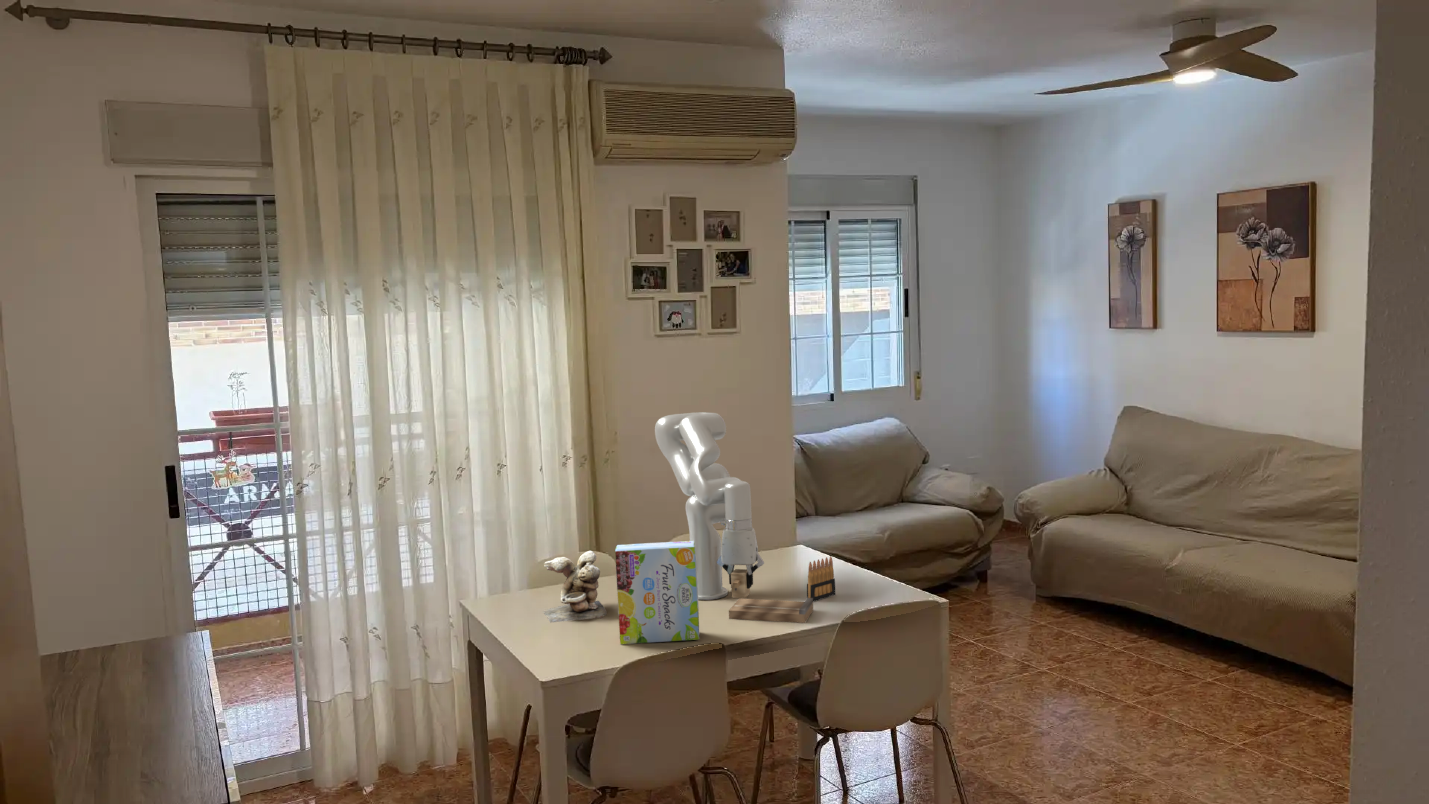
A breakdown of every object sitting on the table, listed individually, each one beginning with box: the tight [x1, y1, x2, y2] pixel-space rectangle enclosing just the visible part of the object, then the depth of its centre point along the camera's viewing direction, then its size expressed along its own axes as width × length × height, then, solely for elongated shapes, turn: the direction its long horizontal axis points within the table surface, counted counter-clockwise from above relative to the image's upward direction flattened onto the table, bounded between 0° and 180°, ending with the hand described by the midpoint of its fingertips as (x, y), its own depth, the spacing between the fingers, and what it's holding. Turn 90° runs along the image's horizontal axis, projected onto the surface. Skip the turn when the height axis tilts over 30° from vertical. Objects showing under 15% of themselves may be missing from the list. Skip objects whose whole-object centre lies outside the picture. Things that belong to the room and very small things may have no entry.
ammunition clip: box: [806, 556, 837, 602], centre depth 321 cm, size 11×2×12 cm, turn 131°
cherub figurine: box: [542, 550, 608, 623], centre depth 314 cm, size 18×18×18 cm
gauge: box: [730, 568, 751, 599], centre depth 307 cm, size 4×11×7 cm, turn 164°
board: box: [728, 597, 814, 624], centre depth 307 cm, size 22×12×4 cm, turn 74°
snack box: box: [614, 540, 700, 645], centre depth 288 cm, size 22×9×26 cm, turn 93°
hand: (741, 586), depth 308 cm, fingers closed on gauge, 4 cm apart
